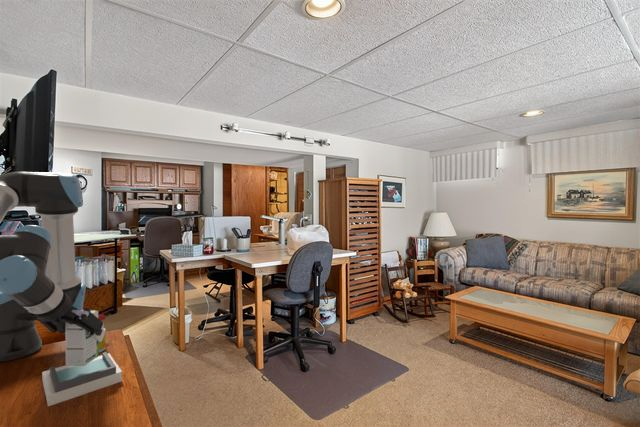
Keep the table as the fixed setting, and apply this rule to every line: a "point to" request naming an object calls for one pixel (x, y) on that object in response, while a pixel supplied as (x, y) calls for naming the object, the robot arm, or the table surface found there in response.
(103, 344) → the supplement bottle
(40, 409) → the table surface
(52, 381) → the dock
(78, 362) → the syrup box
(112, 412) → the table surface
